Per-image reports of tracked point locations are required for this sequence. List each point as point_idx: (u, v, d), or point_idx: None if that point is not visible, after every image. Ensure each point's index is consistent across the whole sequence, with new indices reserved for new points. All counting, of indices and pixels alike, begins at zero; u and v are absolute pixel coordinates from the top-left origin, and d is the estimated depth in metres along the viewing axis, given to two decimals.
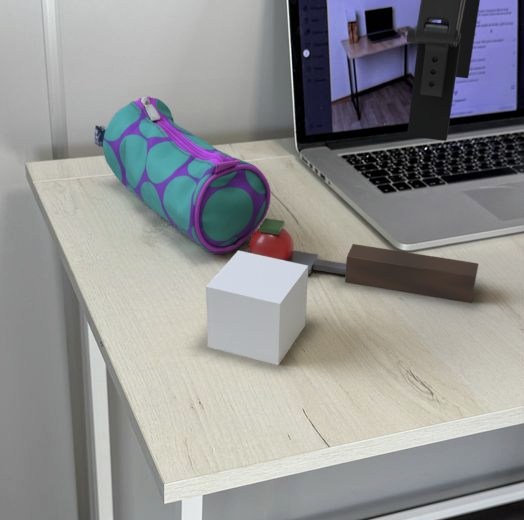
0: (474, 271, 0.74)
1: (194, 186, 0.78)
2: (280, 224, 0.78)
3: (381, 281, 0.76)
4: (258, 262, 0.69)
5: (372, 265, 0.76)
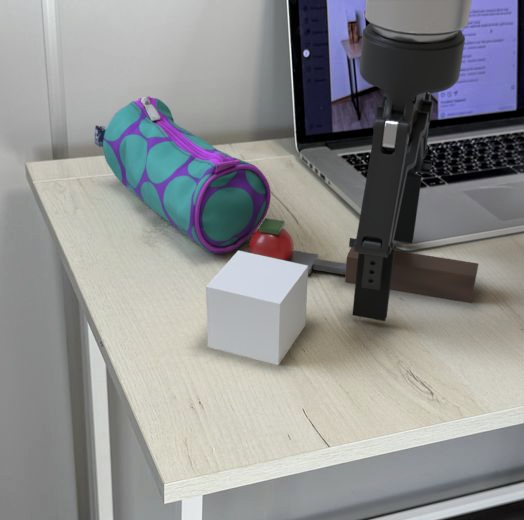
0: (474, 271, 0.74)
1: (194, 186, 0.78)
2: (280, 224, 0.78)
3: None
4: (258, 262, 0.69)
5: None
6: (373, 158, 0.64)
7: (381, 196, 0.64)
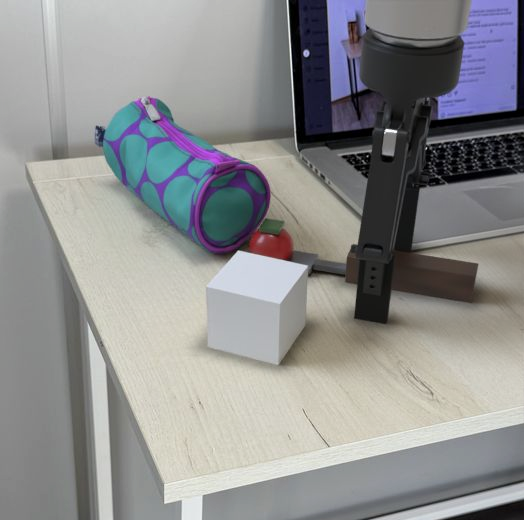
0: (474, 271, 0.74)
1: (194, 186, 0.78)
2: (280, 224, 0.78)
3: None
4: (258, 262, 0.69)
5: None
6: (373, 166, 0.64)
7: (381, 203, 0.65)
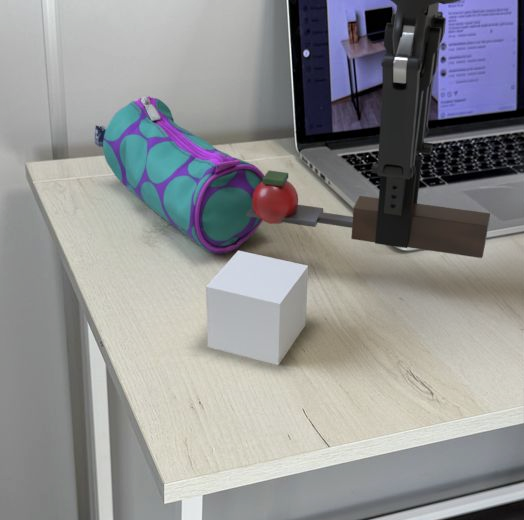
0: (486, 221, 0.71)
1: (194, 186, 0.78)
2: (284, 176, 0.75)
3: None
4: (258, 262, 0.69)
5: None
6: (385, 94, 0.62)
7: (397, 128, 0.64)
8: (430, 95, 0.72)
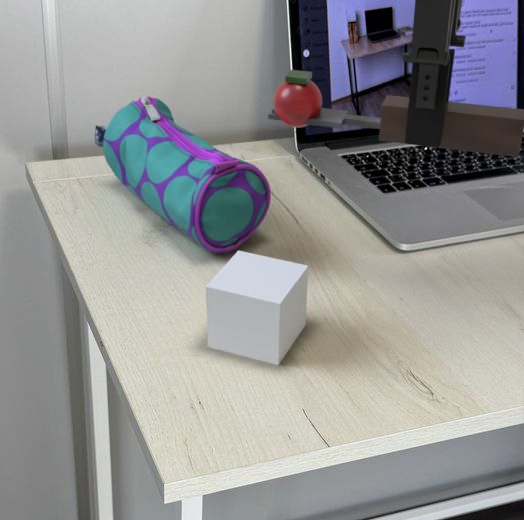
0: (523, 116, 0.68)
1: (194, 186, 0.78)
2: (308, 74, 0.71)
3: None
4: (258, 262, 0.69)
5: None
6: None
7: (433, 5, 0.60)
8: None
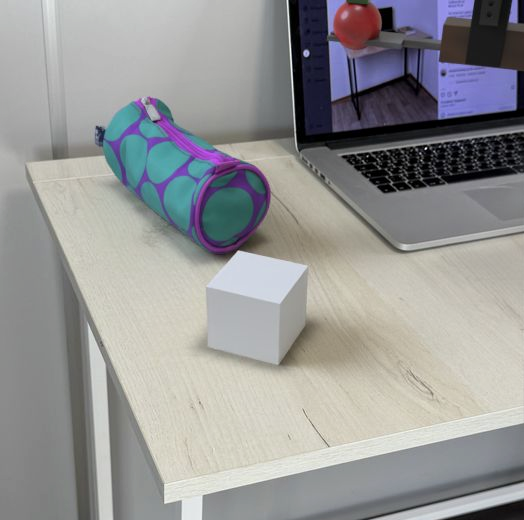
0: None
1: (194, 186, 0.78)
2: None
3: None
4: (258, 262, 0.69)
5: None
6: None
7: None
8: None
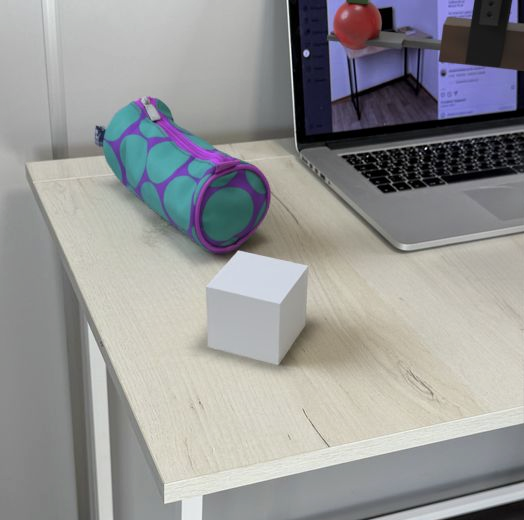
0: None
1: (194, 186, 0.78)
2: None
3: None
4: (258, 262, 0.69)
5: None
6: None
7: None
8: None
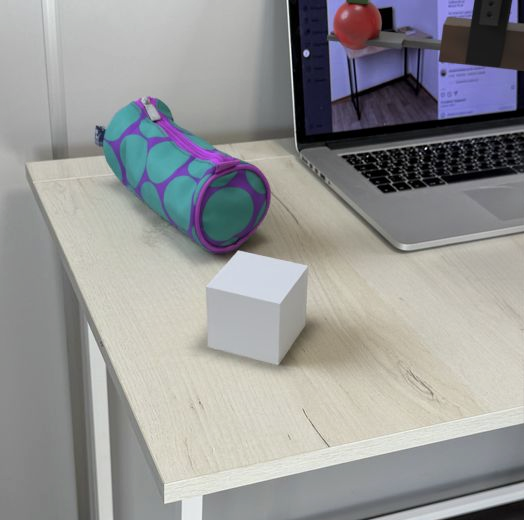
0: None
1: (194, 186, 0.78)
2: None
3: None
4: (258, 262, 0.69)
5: None
6: None
7: None
8: None
